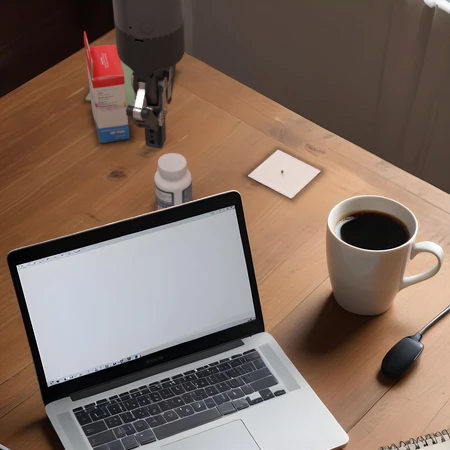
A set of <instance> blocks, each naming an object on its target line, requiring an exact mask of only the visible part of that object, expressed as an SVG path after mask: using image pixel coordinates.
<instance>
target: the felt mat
mask: <svg viewBox="0 0 450 450" xmlns="http://www.w3.org/2000/svg"><path fill="white" fill-rule="evenodd" d="M120 61H121V60H120ZM121 65H122V69H123V72H124V81H125V93H126V105H127V106H128V105H131V104H135V95H134V90H133V88H132V86H131V75H132V72H133V71H132V70H131V69H130V68H129V67H128V66H127V65H125V64H124V63H123V62H122V61H121ZM176 72H177V70H176V69H175V74H176ZM84 100H85V102H89V103H91V96H90V91H89V92H88V94H87V95H86V97H85V99H84Z"/></svg>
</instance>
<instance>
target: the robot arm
mask: <svg viewBox="0 0 450 450" xmlns="http://www.w3.org/2000/svg"><path fill="white" fill-rule="evenodd" d="M112 8H113V9H112V10H113V20H114V22H113V23H114V31H115V42H116V44H115V45H116V47H117V53H118V56H119V58H120V61H122V62H123V63H124V64H125V65H127V66H128V67H129V68H130V69H131V70H132V71H133V72H132V75H131V86H132V88H133V90H134V95H135V104H131V105H128V106H127V109H126V114H127V116H128V120H130V121H131V123H133V125H134V126H135V127H136V128H139V129H144V141H145V145H146V146H147V147H149V148H154V149H160V150H161V149H162V148H163V147H164V145H165V143H166V141H167V130H166V128H167V127H166V126H167V125H166V118H167V115H168V113H169V111H168V105H170V104H171V102H172V99H173V97H172V96H173V91H174V90H173V89H174V82H175V76H176V73H175V70H176V68H177V64H179V62H180V61H181V60H182V59H183V57H184V55H185V52H186V51H185V50H186V49H185V0H112Z"/></svg>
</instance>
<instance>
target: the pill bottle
mask: <svg viewBox="0 0 450 450" xmlns="http://www.w3.org/2000/svg"><path fill="white" fill-rule="evenodd" d="M187 162H188V161H187V159H186V157H185V156H183V155H182V154H181V153H178V152H177V153H176V152H168V153H165V154H162V155H161V156H160V157H159V158H158V160H157V170H156V172H155V173H154V177H153V181H154V182H153V184H154V202H155V211H156V210H159V209H163V208H167V207H171V206H175V205H179V204H182V203H185V202H189V201H192V202H193V180H192V173H191V171H190V170H189V169H188V164H187Z"/></svg>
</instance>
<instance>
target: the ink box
mask: <svg viewBox="0 0 450 450" xmlns="http://www.w3.org/2000/svg"><path fill="white" fill-rule="evenodd" d="M83 42H84V43H83V44H84V52H85V61H86V69H87V78H88V87H89V92H90V96H91V102H90V103H91V112H92V116H93V120H94V124H95V129H96V133H97V137H98V141H99V143H100V144H105V143H112V142H118V141H119V142H120V141H125V140H130V138H131V137H130V129H129V117H128V116H127V114H126V109H127V105H126V93H125V81H124V72H123V69H122V65H121V60H120V58H119V56H118V53H117V44H102V45H95V46H90V45H89V41H88V37H87V33H86V31H83Z"/></svg>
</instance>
